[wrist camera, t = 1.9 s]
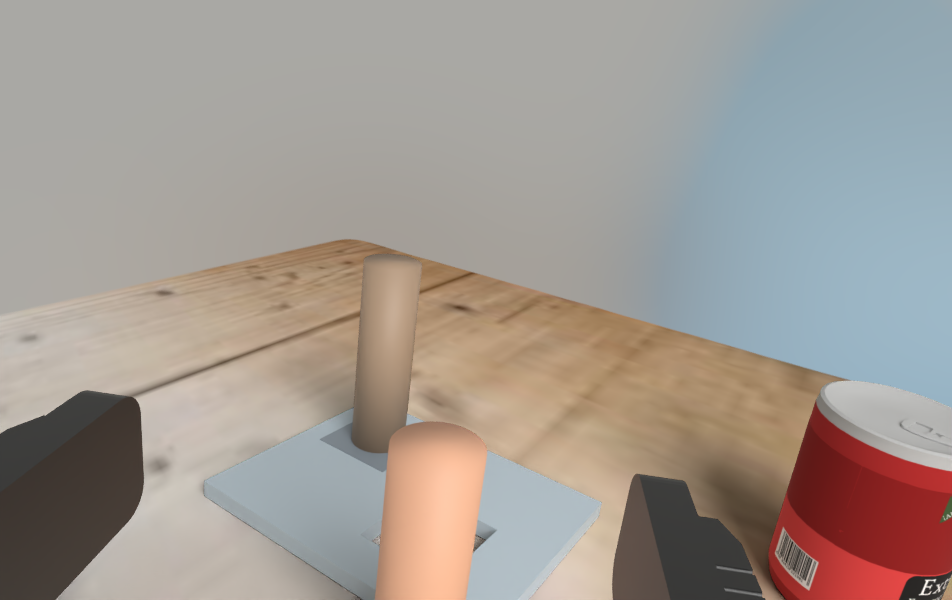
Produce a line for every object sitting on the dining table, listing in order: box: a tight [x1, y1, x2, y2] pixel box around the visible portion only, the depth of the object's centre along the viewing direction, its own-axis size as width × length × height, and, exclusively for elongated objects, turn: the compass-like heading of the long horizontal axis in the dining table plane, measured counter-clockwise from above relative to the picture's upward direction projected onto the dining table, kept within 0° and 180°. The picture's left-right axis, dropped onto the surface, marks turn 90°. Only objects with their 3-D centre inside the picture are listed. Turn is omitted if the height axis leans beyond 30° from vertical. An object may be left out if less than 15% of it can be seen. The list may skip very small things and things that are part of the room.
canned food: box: [769, 381, 952, 600], centre depth 35 cm, size 8×8×11 cm
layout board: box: [204, 254, 602, 600], centre depth 37 cm, size 18×14×13 cm
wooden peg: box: [375, 422, 487, 600], centre depth 25 cm, size 3×3×12 cm
